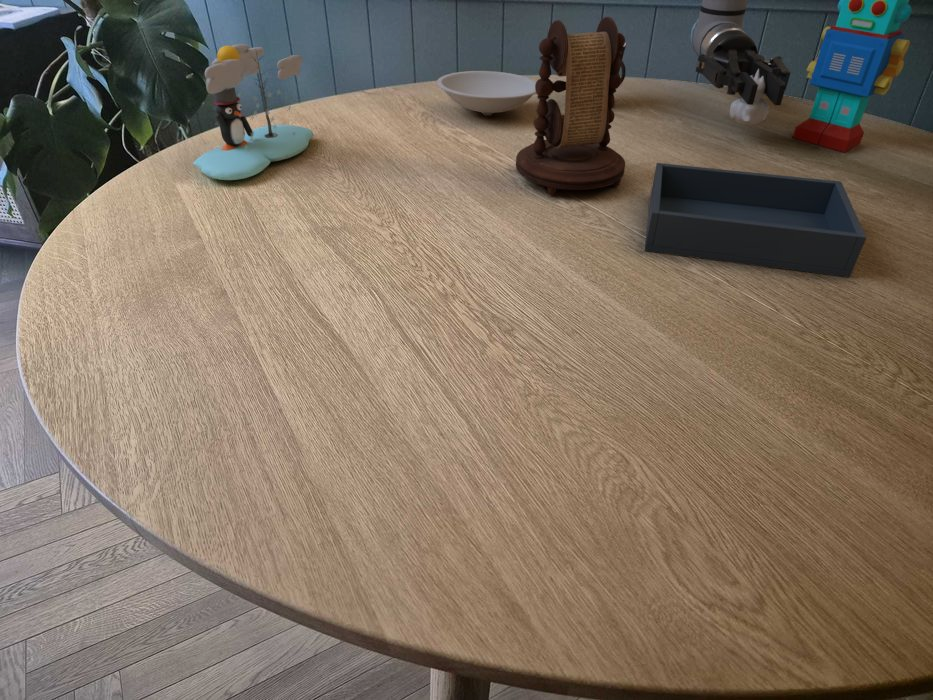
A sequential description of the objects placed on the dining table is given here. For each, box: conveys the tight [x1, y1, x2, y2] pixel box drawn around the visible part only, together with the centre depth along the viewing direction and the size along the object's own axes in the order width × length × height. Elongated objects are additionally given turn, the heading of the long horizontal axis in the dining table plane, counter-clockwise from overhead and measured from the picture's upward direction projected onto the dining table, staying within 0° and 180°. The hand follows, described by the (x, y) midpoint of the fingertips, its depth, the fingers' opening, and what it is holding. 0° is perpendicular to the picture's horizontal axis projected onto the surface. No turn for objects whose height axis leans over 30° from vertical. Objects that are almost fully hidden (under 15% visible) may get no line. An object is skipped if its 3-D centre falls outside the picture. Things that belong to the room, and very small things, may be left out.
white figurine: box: [729, 69, 770, 126], centre depth 98 cm, size 5×7×8 cm
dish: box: [436, 70, 537, 116], centre depth 111 cm, size 18×14×5 cm
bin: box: [644, 162, 867, 278], centre depth 77 cm, size 22×15×5 cm
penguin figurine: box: [192, 43, 314, 181], centre depth 91 cm, size 20×11×15 cm, turn 152°
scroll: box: [515, 16, 626, 197], centre depth 85 cm, size 15×15×20 cm
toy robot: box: [792, 0, 912, 153], centre depth 95 cm, size 12×6×25 cm, turn 42°
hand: (766, 95), depth 93 cm, fingers closed on white figurine, 3 cm apart
